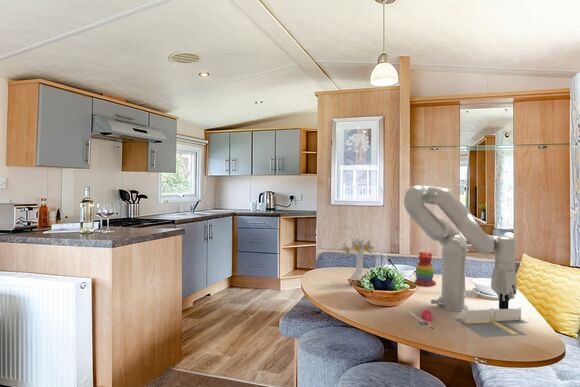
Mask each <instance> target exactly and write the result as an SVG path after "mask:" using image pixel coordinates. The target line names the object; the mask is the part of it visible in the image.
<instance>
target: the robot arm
mask: <svg viewBox="0 0 580 387" xmlns="http://www.w3.org/2000/svg"><path fill="white" fill-rule="evenodd" d="M425 204H426V205H427V204H428V205H436V206H437V207H438V208H439V209H440V210H441V211H442V213H444V215H445V216H446V217H447V218H448V219H449V221H451V222H452V224H453V225H454V226H455V227H456V228H454V227H453V226H452V225H451V224H450V223H449V222H448V221H447V220H445V219H442V218H438V216H436V215H435V214H434V212H433V211H432V210H430V208H428V207H427V206H426V205H425ZM403 205H404V208H405V211H406V213H407V214H408V216H409V217H410V218H411V219H412V220H413V221H414V222H415V224H417V225H418V227H419V228H421V230H422V231H423V232H424V233H425V234H426V235H427V236H428V237H429V238H430V239H431V240H433V241H437V242H438V243H439V244H440V245H441V246H442V249H441V250H442V251H441V255H442V259H441V260H442V262H441V264H442V267H441V269H442V270H441V296H439V297H438V298H437V299H436V298H434V299H431V300H430V303H431V304H432V305H437V307H438V308H440V309H441V310H444V311H448V312H454V313H462V310H463V309H464V310H469V307H468V306H467V305H465V299H466V298H465V297H466V296H465V292H466V266H467V264H466V263H467V259H466V258H467V253H468V252H467V251H468V243H469V244H470V245H471V247H472V248H473V249H474V250H475V251H476V252H478V253H479V254H481V255H489V254H491V253H493V252H494V266H493V269H492V274H491V280H490V288H491V290H492V291H493V292H494V293H495V294H497V299H498V309H509V301H510V300H511V299H512V300H514V299H515V295H517V289H518V288H517V286H518V285H517V283H518V282H517V274H516V252H517V250H516V249H517V248H516V247H517V241H516V238H514V237H512V236H504V235H503V236H502V235H500V236H499V235H498V236H497V235H492V234H491V235H490V234H487V233H486V232H485V231H484V230H483V229H482V228H481V227H480V226H479V224H478V223H477V222H476V220H475V217H474V216H473V214H472V213H471V211H470V210H469V209H468V208H467V207H466V206H465V205H464V204H463V203H462V201H460V200H459V198H458V197H457V195H456V194H455V191H453V189H450V188H448V187H440V186H439V187H437V186H428V185H420V184H419V185H417V184H416V185H412V186H410V187H409V188H408V189H407V190H406V192H405V194H404V197H403ZM456 229H457V230H458V231H459V232H458V231H457V230H456Z"/></svg>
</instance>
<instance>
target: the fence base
mask: <svg viewBox="0 0 580 387" xmlns="http://www.w3.org/2000/svg"><path fill="white" fill-rule="evenodd" d="M494 312H495V308H490V309H468V310H464V309H463V310H462V312H461V318H454V321H457V322H458V323H460V324H461V325H463V326H464V327H466V328H468V329H469V330H471V331H473V332H474V333H476V334H477V335H479V336H480V337H483V338H491V337H494V338H495V337H511V336H514V337H516V336H528V335H527V334H526V333H525V332H522V331H520V330H519V329H517V328H514V326H512V325H513V324H529V322H527V321H525V320H523V319H521V320H509V321H494Z"/></svg>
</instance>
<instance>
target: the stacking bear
mask: <svg viewBox="0 0 580 387" xmlns="http://www.w3.org/2000/svg"><path fill="white" fill-rule="evenodd" d="M418 253H419V254H418V259H419V260H418V261H419V262H417V264H416V269H415V281H414V283H415V284H416V285H417V284H418V286H421V287H433V286H435V285H437V282H436V281H435V280H433V278H434V273H435V272H434V271H435V270H434V267H433V264H432V263H431V262H432V259H433V258H432V256H433V254H432V252H427V251H426V252H425V251H424V252H422V251H420V252H418Z"/></svg>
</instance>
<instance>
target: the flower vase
mask: <svg viewBox="0 0 580 387" xmlns="http://www.w3.org/2000/svg"><path fill="white" fill-rule="evenodd" d="M365 241H366V240H365V239H364V238H363V239H361V240H360V239H359V238H356V239H355V241H354V240H353V241H352V242H351V246H350V247H348V246H347V244H346V243H343V246H342V247H341V249H342V250H343V251H344V256H345V257H347V256H348V257H349V258H350V257H351V251H354V254H355V255H356V268H355V270H354V272H353V273H352V274H351V276H350V281H351V280H360V279H361V278H362V276H363V275H365V274H366V273H365V270H364V267H363V265H364V264H363V262H364V261H363V259H364V257H363V256H364V255H366V254H368V256H372V251H373V252H375V250H374V249H375V247H374V246H373V245H372V243H371V241H370V238H368V239H367V242H366V243H365Z"/></svg>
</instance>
